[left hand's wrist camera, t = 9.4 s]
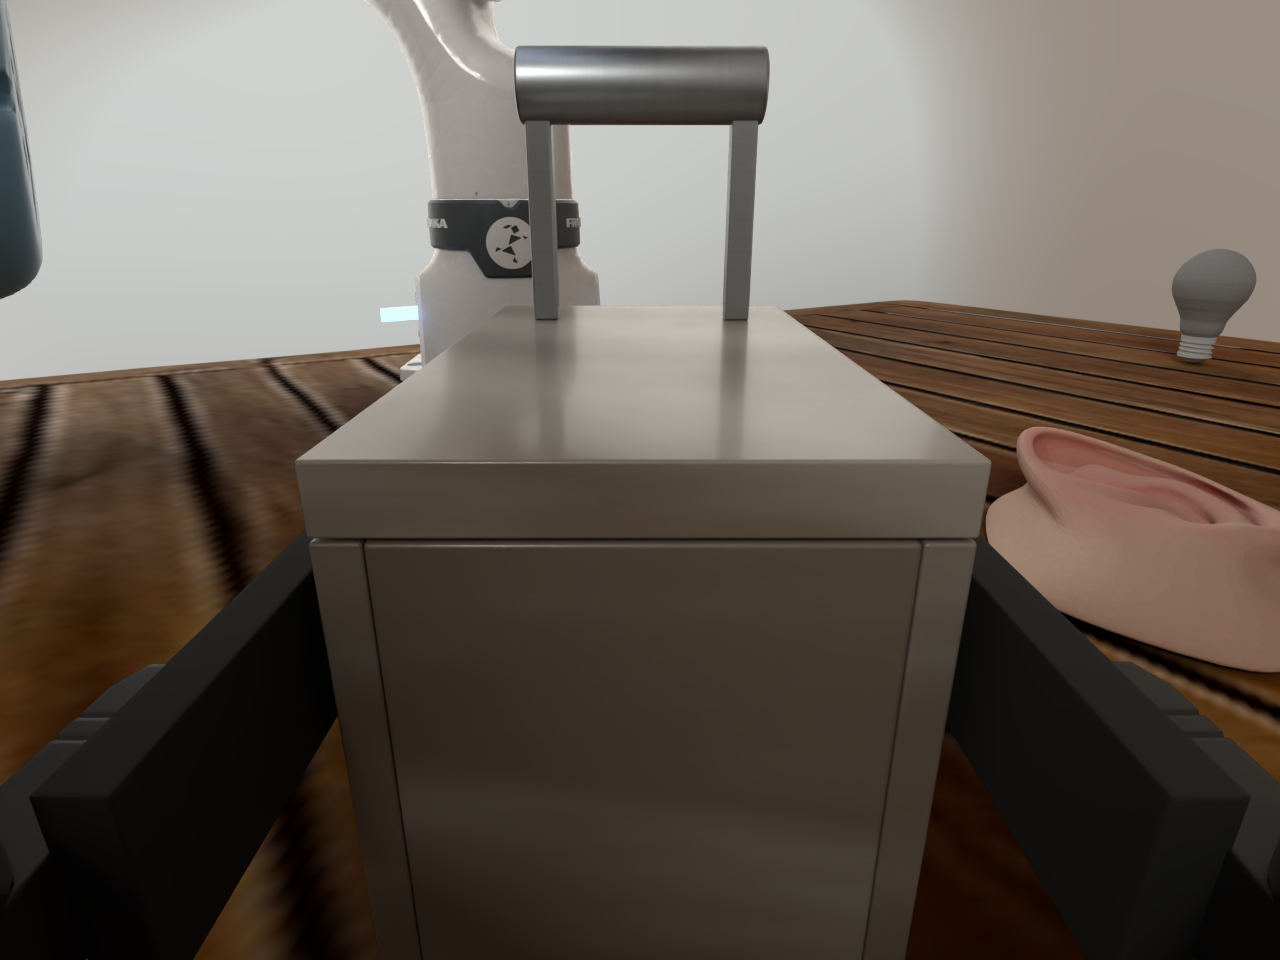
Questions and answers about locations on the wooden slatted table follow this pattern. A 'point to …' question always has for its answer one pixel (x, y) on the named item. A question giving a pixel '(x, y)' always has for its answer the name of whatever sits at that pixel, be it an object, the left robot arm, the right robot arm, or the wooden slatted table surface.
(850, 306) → the wooden slatted table surface
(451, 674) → the chest
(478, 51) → the right robot arm
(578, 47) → the lid
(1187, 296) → the light bulb
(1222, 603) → the anatomical model
